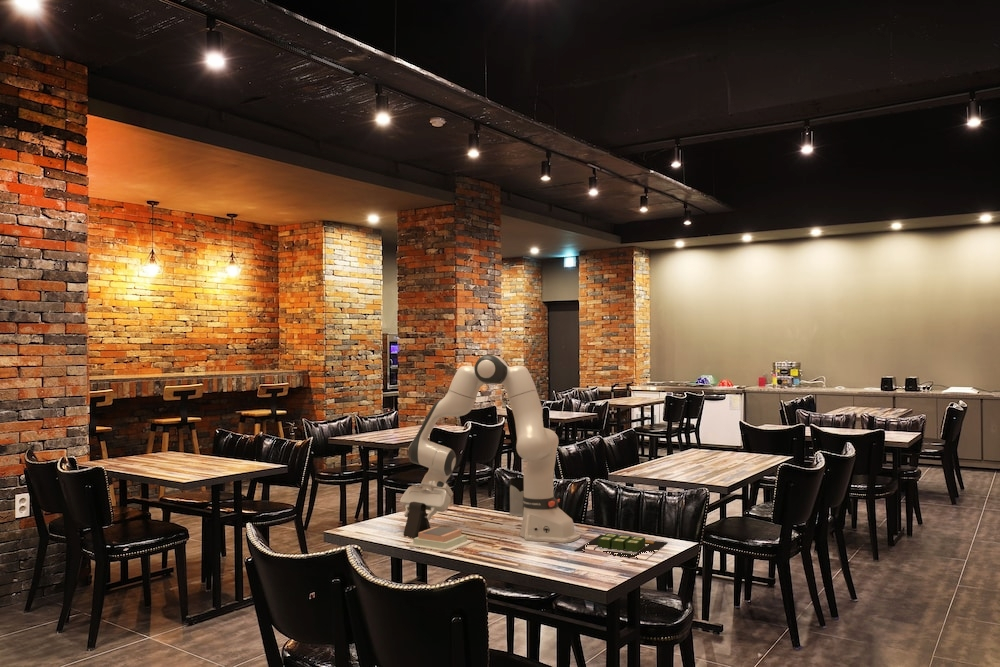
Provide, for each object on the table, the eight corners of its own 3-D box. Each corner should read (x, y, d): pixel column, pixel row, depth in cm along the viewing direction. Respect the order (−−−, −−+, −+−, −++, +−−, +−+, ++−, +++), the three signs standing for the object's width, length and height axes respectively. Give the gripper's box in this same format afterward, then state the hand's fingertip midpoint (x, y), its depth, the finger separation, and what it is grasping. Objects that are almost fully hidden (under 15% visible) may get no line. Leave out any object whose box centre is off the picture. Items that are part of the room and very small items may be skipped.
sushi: (667, 544, 261) (667, 534, 261) (645, 562, 239) (645, 550, 239) (601, 537, 273) (600, 526, 273) (574, 553, 251) (574, 542, 251)
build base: (473, 541, 264) (473, 528, 265) (448, 552, 251) (448, 538, 251) (432, 536, 273) (432, 523, 274) (406, 545, 260) (406, 532, 260)
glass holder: (504, 514, 310) (504, 478, 311) (532, 510, 318) (531, 475, 319) (516, 517, 303) (516, 481, 304) (544, 513, 311) (544, 477, 311)
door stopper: (420, 531, 281) (420, 499, 281) (432, 533, 277) (431, 501, 277) (403, 536, 274) (403, 503, 274) (414, 538, 270) (414, 505, 270)
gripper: (406, 480, 287) (390, 510, 279) (450, 484, 277) (435, 515, 268) (413, 489, 291) (398, 519, 282) (456, 494, 281) (442, 525, 272)
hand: (416, 517), depth 275 cm, fingers open, 8 cm apart
